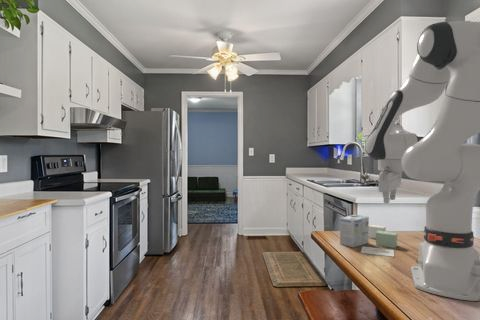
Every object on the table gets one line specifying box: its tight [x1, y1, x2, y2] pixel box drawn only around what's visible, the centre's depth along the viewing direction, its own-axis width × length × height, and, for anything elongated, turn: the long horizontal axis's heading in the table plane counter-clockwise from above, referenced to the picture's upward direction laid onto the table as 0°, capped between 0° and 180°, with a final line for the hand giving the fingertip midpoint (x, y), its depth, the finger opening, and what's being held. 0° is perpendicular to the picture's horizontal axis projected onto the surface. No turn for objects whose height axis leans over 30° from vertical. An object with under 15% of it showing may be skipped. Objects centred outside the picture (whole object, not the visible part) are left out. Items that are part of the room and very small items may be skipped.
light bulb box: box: [339, 214, 369, 249], centre depth 126 cm, size 11×7×11 cm, turn 128°
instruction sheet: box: [360, 245, 395, 258], centre depth 116 cm, size 8×11×1 cm
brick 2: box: [375, 231, 398, 249], centre depth 124 cm, size 4×7×5 cm, turn 55°
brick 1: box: [369, 224, 387, 239], centre depth 136 cm, size 4×7×5 cm, turn 55°
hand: (389, 201), depth 124 cm, fingers open, 8 cm apart
